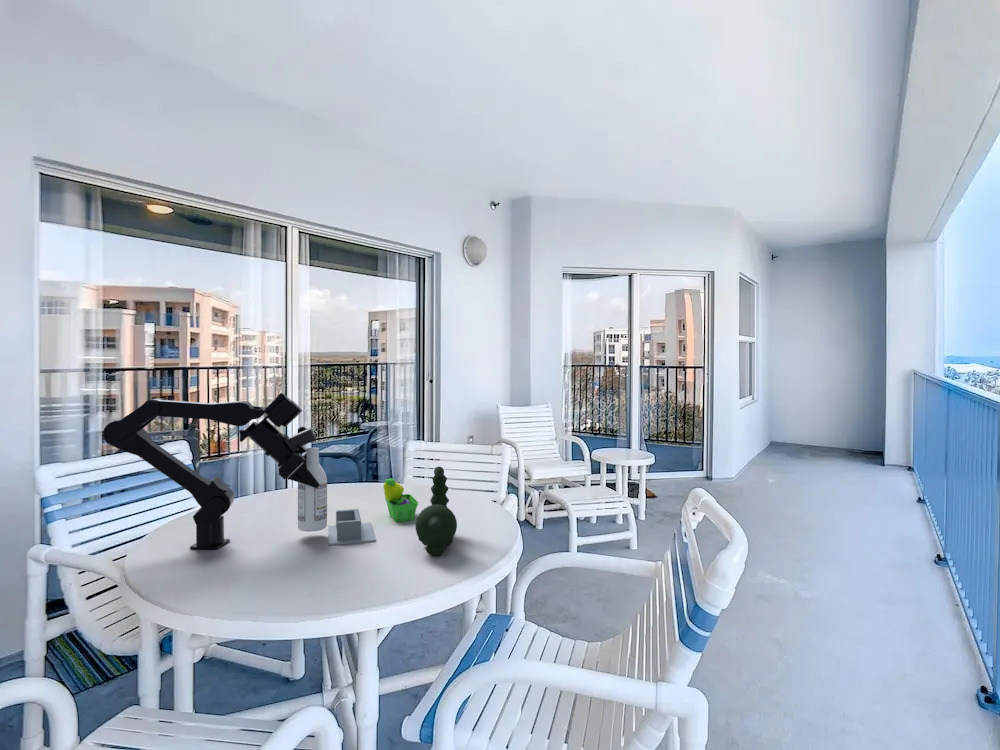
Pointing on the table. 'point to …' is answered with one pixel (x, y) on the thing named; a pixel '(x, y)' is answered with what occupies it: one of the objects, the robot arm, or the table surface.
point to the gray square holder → (349, 529)
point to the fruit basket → (399, 501)
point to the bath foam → (313, 496)
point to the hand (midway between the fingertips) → (318, 483)
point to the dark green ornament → (437, 518)
